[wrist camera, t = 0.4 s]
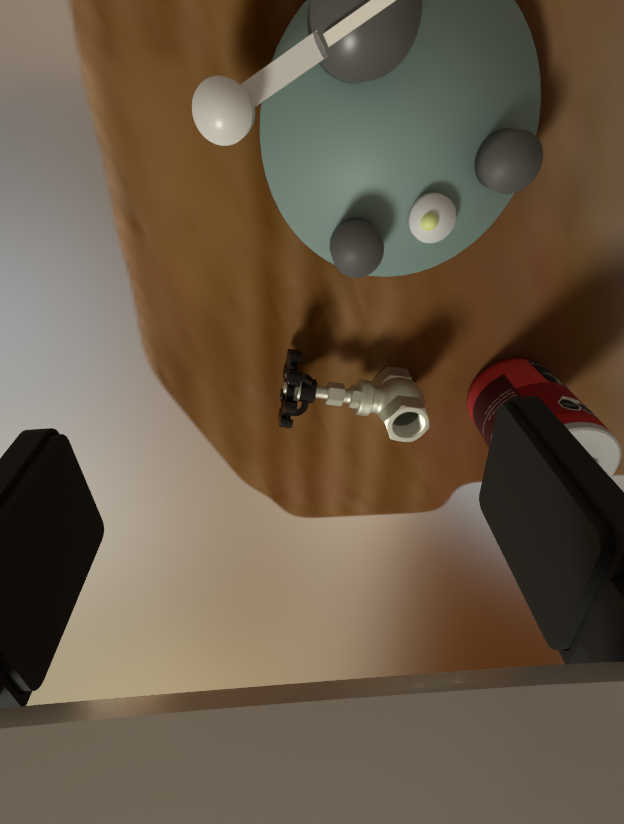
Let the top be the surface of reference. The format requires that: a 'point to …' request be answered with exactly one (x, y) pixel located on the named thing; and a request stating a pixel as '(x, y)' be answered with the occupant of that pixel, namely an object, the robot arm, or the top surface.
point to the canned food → (539, 381)
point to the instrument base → (408, 142)
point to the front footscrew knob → (313, 60)
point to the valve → (359, 398)
